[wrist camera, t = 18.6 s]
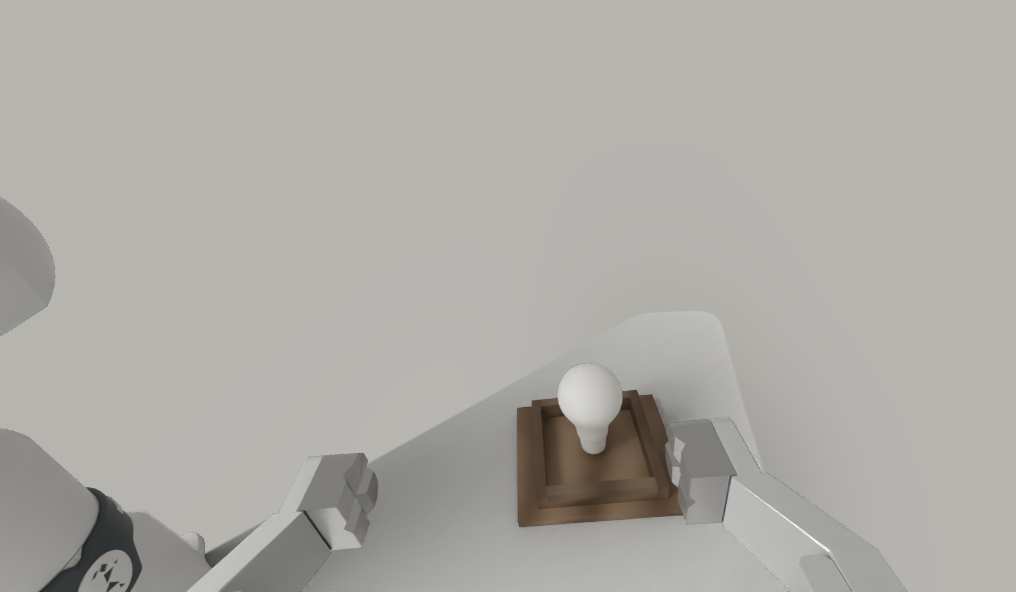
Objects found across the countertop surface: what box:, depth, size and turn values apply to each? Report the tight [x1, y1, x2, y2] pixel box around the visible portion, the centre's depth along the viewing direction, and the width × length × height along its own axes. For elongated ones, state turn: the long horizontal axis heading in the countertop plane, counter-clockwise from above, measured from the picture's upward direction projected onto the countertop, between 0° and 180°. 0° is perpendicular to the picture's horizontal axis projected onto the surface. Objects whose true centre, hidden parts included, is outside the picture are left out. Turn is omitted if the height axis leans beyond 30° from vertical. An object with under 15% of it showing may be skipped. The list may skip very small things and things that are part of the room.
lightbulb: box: [557, 363, 622, 454], centre depth 42 cm, size 6×6×11 cm
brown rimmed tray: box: [517, 390, 683, 527], centre depth 45 cm, size 16×14×3 cm
